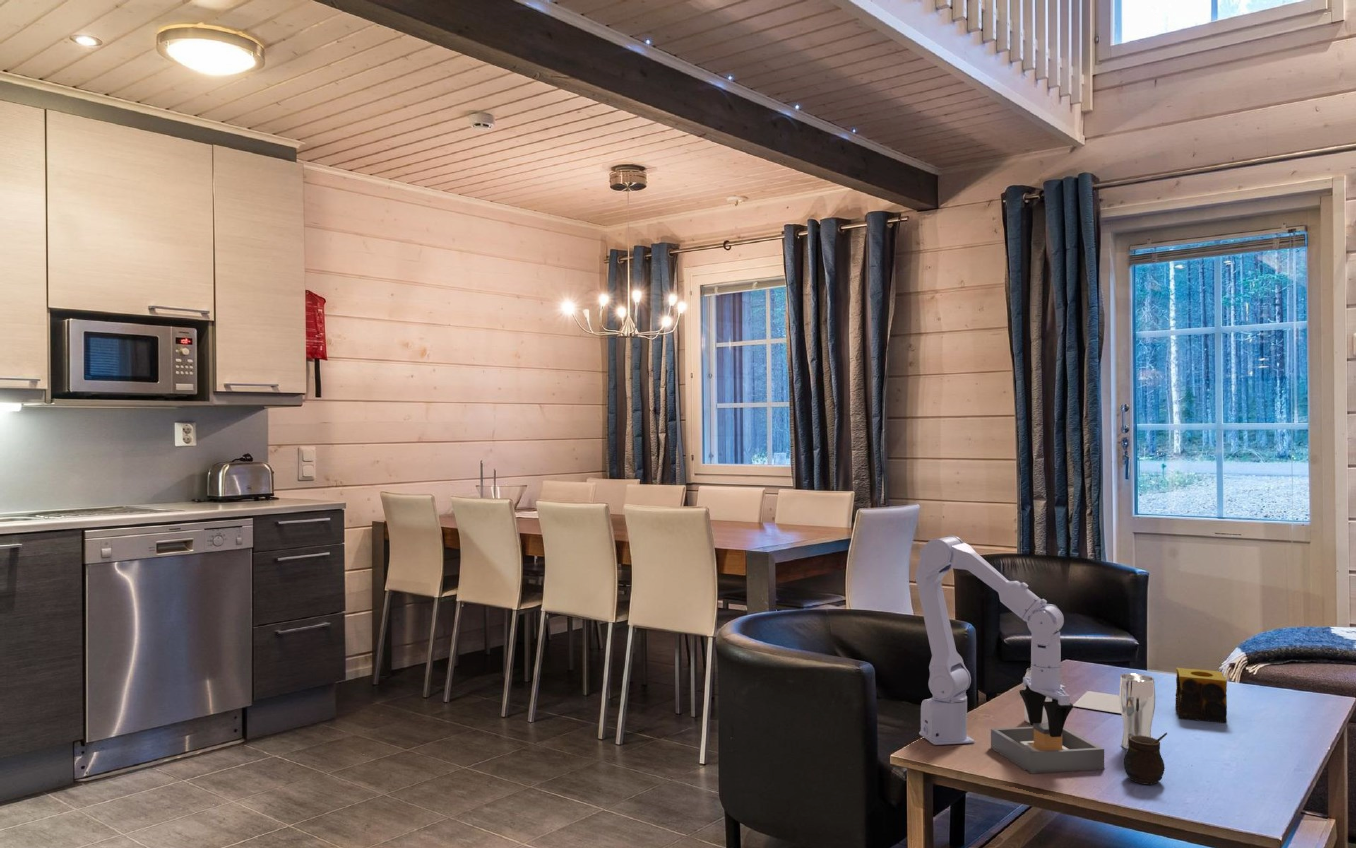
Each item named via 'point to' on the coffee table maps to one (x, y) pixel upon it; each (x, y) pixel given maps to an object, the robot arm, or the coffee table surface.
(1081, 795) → the coffee table surface
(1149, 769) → the mate gourd
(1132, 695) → the beer glass
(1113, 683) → the coffee table surface
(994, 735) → the box
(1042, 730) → the plug
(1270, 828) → the coffee table surface
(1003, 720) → the coffee table surface
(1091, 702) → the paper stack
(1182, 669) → the candle
